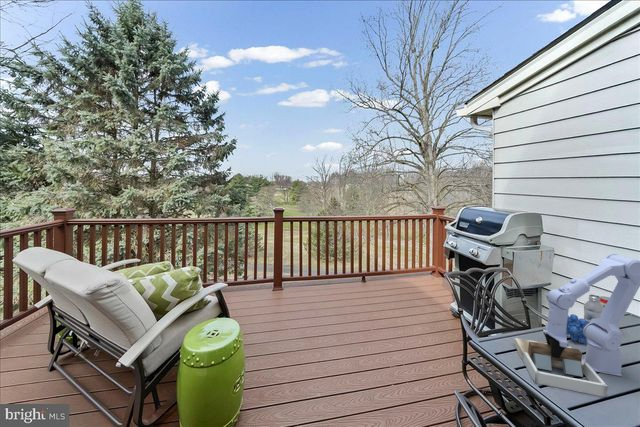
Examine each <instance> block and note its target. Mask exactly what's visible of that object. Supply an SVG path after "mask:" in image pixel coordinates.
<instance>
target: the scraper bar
mask: <svg viewBox="0 0 640 427" xmlns="http://www.w3.org/2000/svg"><path fill="white" fill-rule="evenodd" d="M537 342H538V341H537ZM537 342H530V341H529V347H528V353H529V354H530V356H533V353H536V354H542V355H548V356H551V360H556V361H562V359H569V360H575V361H580V362H581V361H582V358H583V353H582V352H581V350H580V349H578V348H573V347H571V348H567V347H566V348H565V349H564V350H563V352H562V354H561V356H560V358H554V357H552V353H551V345H549V344H543V343H544V342H543V343H537Z"/></svg>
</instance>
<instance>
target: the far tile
mask: <svg viewBox="0 0 640 427" xmlns="http://www.w3.org/2000/svg"><path fill="white" fill-rule="evenodd" d="M533 359H534V365H535V367H536V368H537V369H539V370H540V369H541V370H546V371H553V369H552V368H553V367H551V356H548V355H542V354H536V353H533Z"/></svg>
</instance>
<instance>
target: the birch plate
mask: <svg viewBox="0 0 640 427" xmlns="http://www.w3.org/2000/svg"><path fill="white" fill-rule="evenodd" d="M529 341H530V342H537V343H543V344H547V342H544V341H538V340H537V341H536V340H529V339H525V338H519V337H514V343H513V345H514V347H515V348H516V350H517V352H518V355H519V356H520V357H521V360H522V361H523V360H524V352H526V353H528V347H529ZM567 348H572V347H571V346H569V345H568V346H567ZM528 355H529V356H530V354H529V353H528ZM530 358H531V360H532V362H533V363H534V359H533V356H530ZM551 367H552V368H557V369H561V370H562V369H563V364H562V361H556V360H551ZM583 367H584V362H583V360H582V361H581V368H582V373H583Z"/></svg>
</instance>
